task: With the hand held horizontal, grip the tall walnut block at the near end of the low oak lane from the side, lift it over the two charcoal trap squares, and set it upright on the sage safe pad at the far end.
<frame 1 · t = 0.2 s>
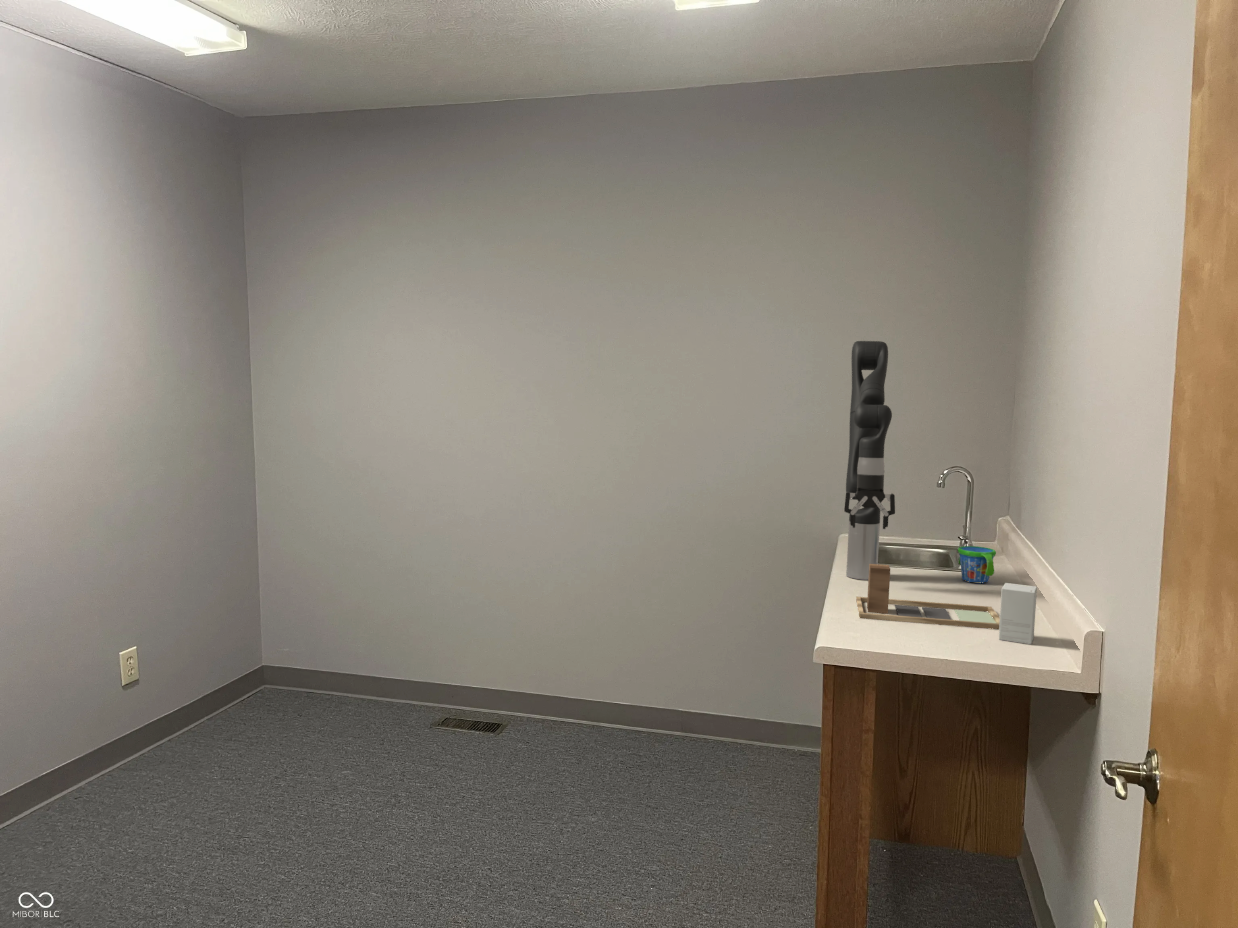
hand: (868, 528, 255), 18 cm above the table, tool pointing down, fingers open, 8 cm apart
walnut block: (877, 610, 231), resting in oak lane
oak lane: (926, 614, 228), on the table
snack cup: (974, 582, 268), on the table
supplement box: (1016, 639, 209), on the table
trap squares: (926, 614, 228), resting in oak lane
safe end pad: (975, 618, 226), resting in oak lane
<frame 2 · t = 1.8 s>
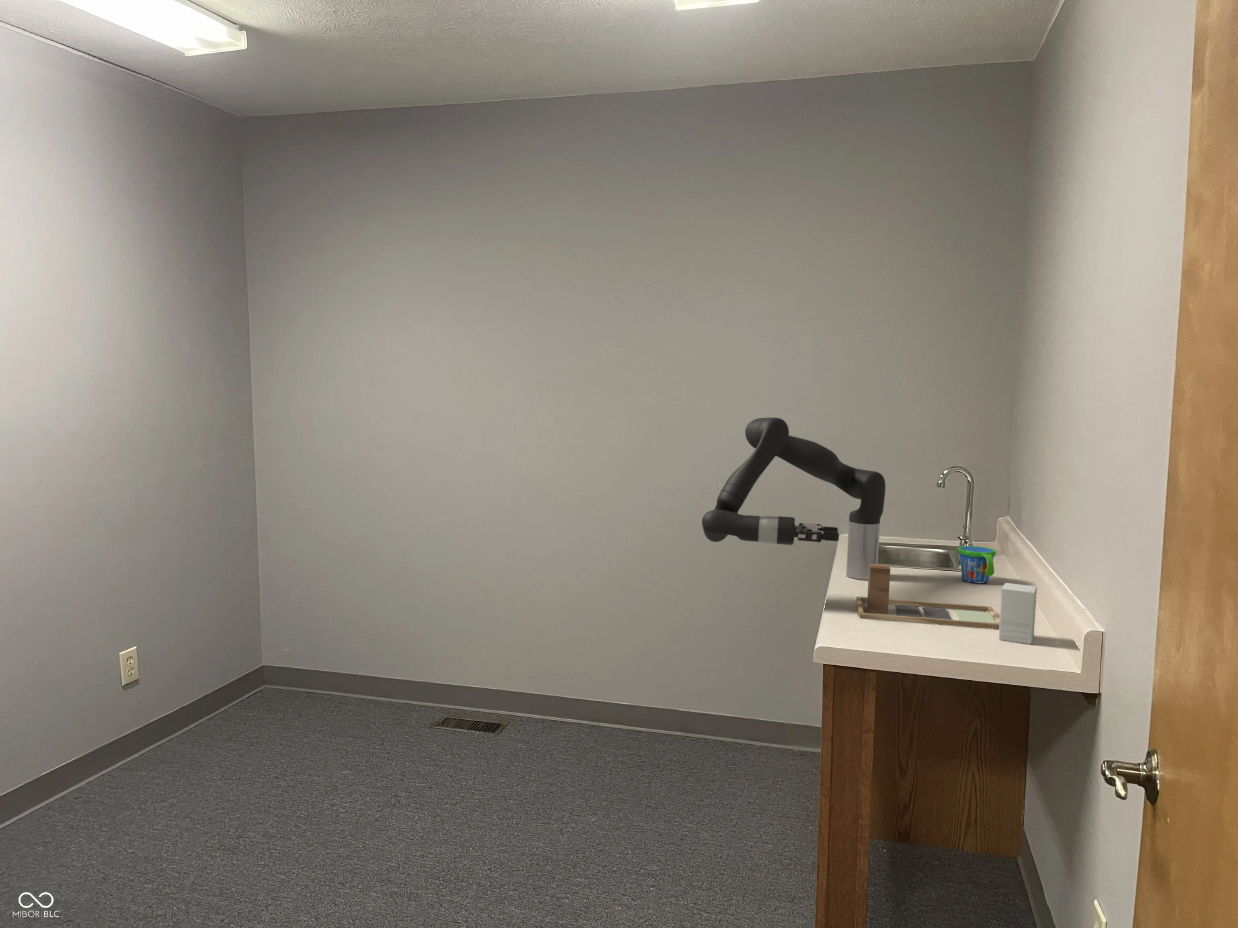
hand: (838, 534, 231), 20 cm above the table, tool horizontal, fingers open, 8 cm apart
nothing on the table moved.
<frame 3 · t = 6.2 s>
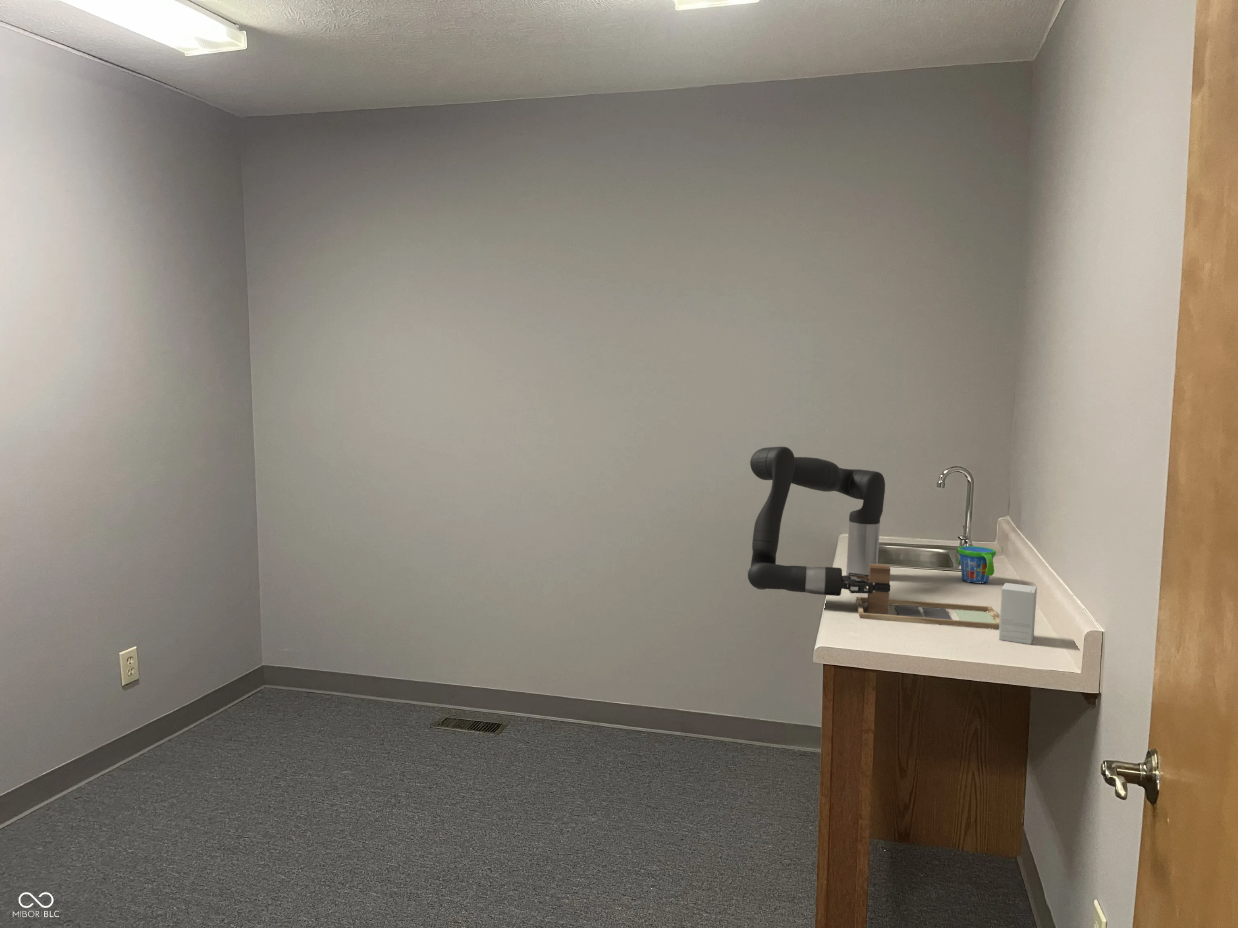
hand: (888, 585, 230), 7 cm above the table, tool horizontal, fingers closed on walnut block, 5 cm apart
walnut block: (877, 610, 231), resting in oak lane, touching gripper
everything else where it was.
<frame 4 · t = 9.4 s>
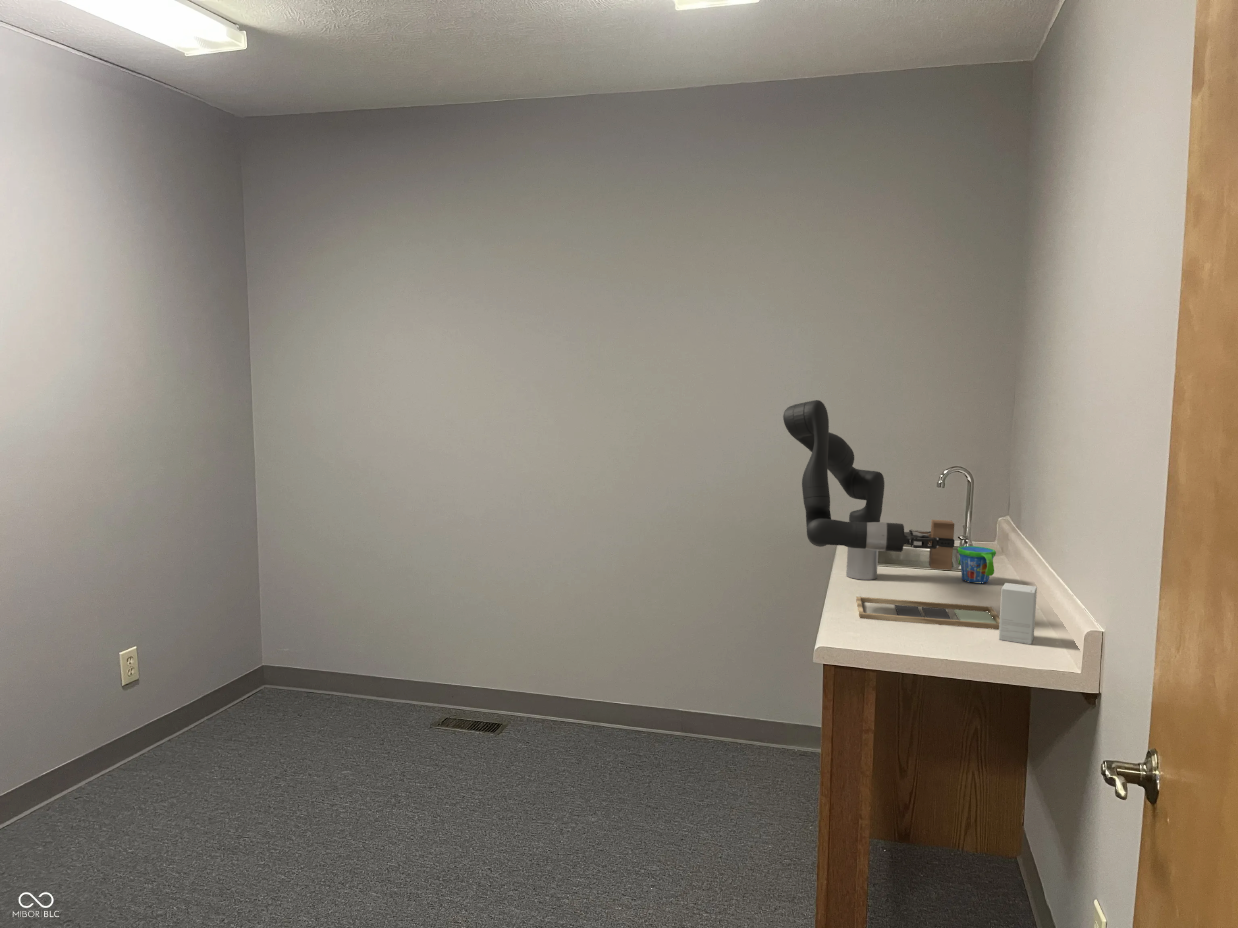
hand: (952, 541, 225), 20 cm above the table, tool horizontal, fingers closed on walnut block, 5 cm apart
walnut block: (939, 567, 226), point 13 cm above the table, touching gripper
everything else where it was.
when the fingers open (8 cm above the table, at t = 13.0 s): walnut block stays where it is, resting on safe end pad.
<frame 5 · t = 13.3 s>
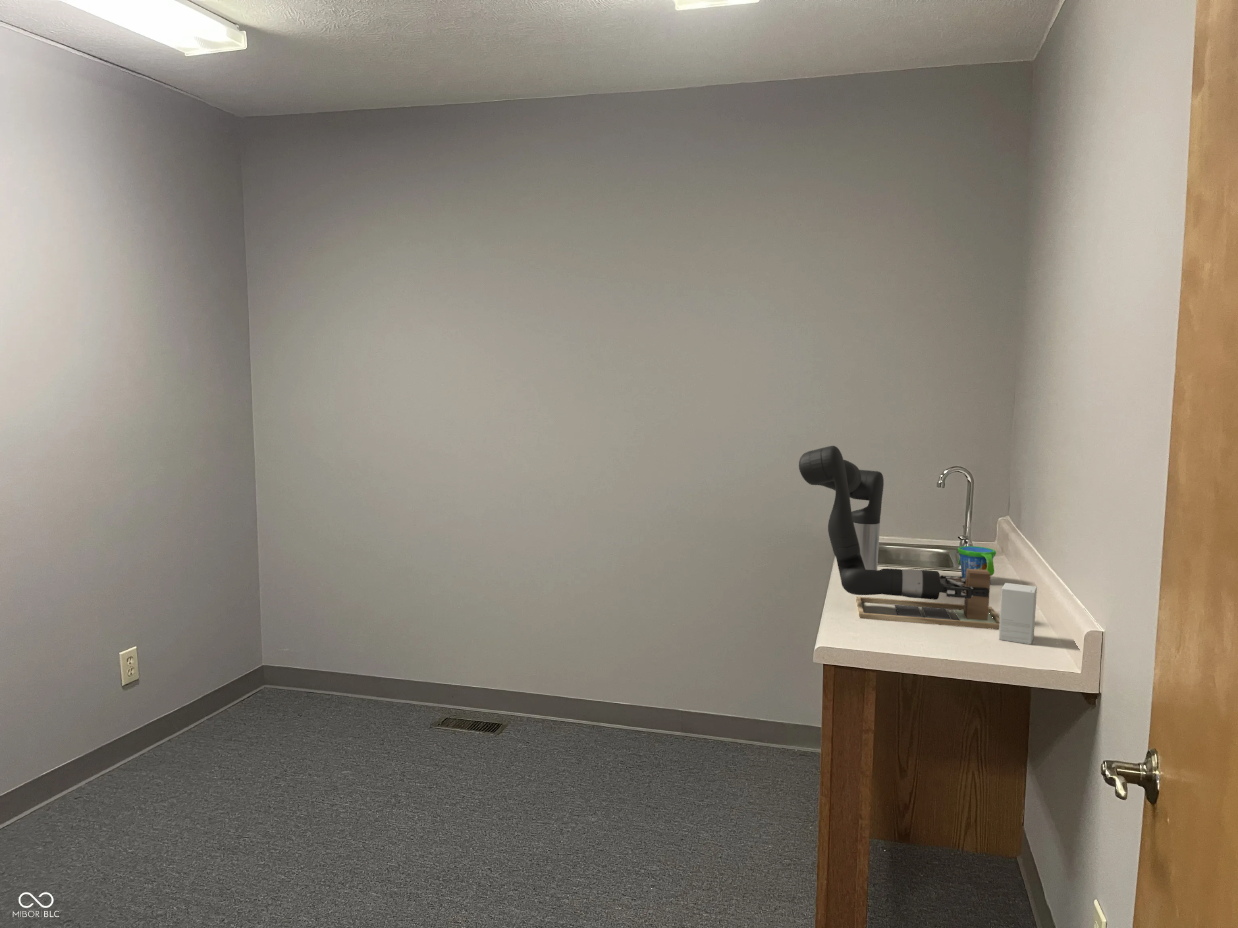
hand: (985, 588, 225), 8 cm above the table, tool horizontal, fingers open, 8 cm apart
walnut block: (975, 616, 226), resting on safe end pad
everything else where it was.
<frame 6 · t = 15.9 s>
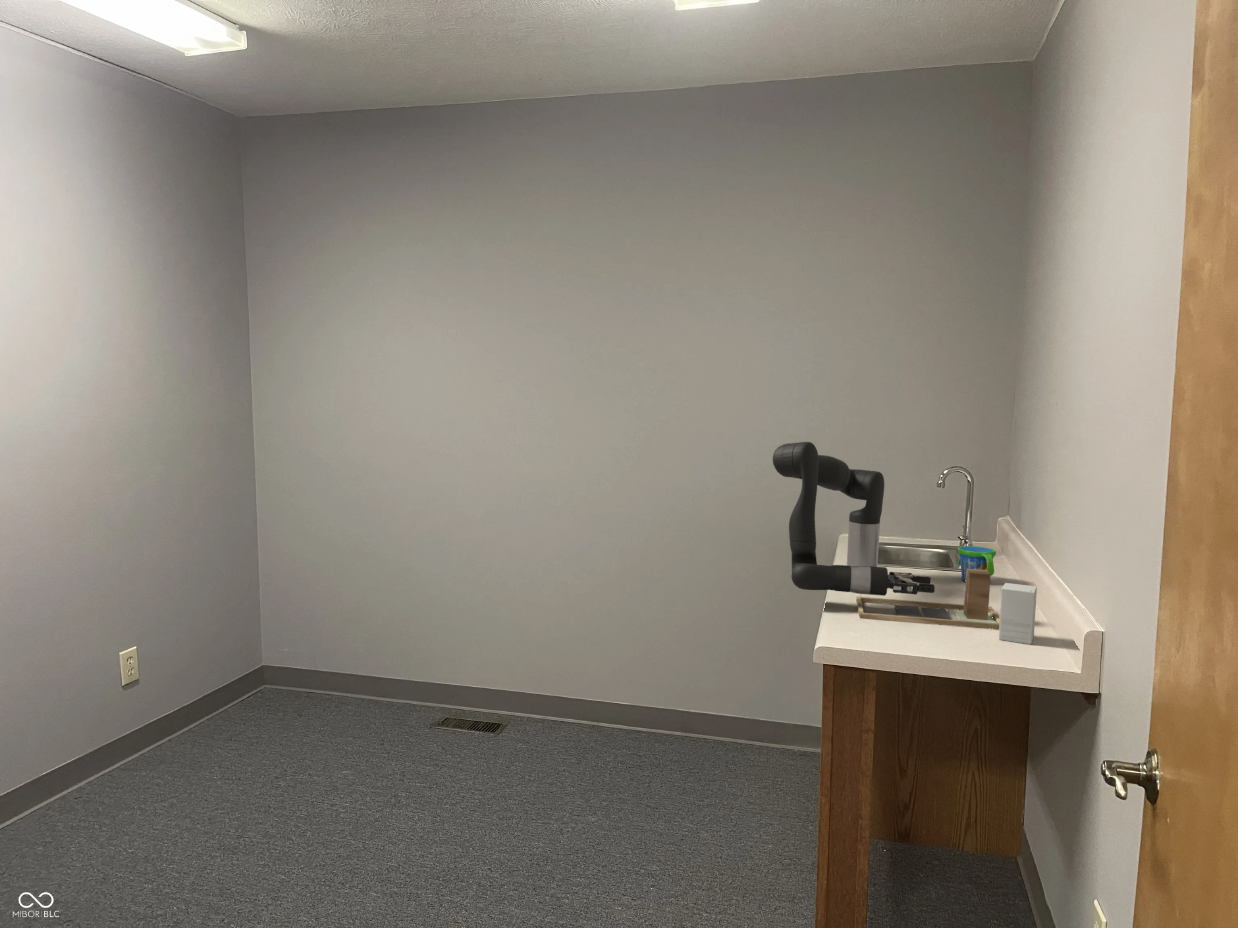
hand: (932, 584, 227), 8 cm above the table, tool horizontal, fingers open, 8 cm apart
nothing on the table moved.
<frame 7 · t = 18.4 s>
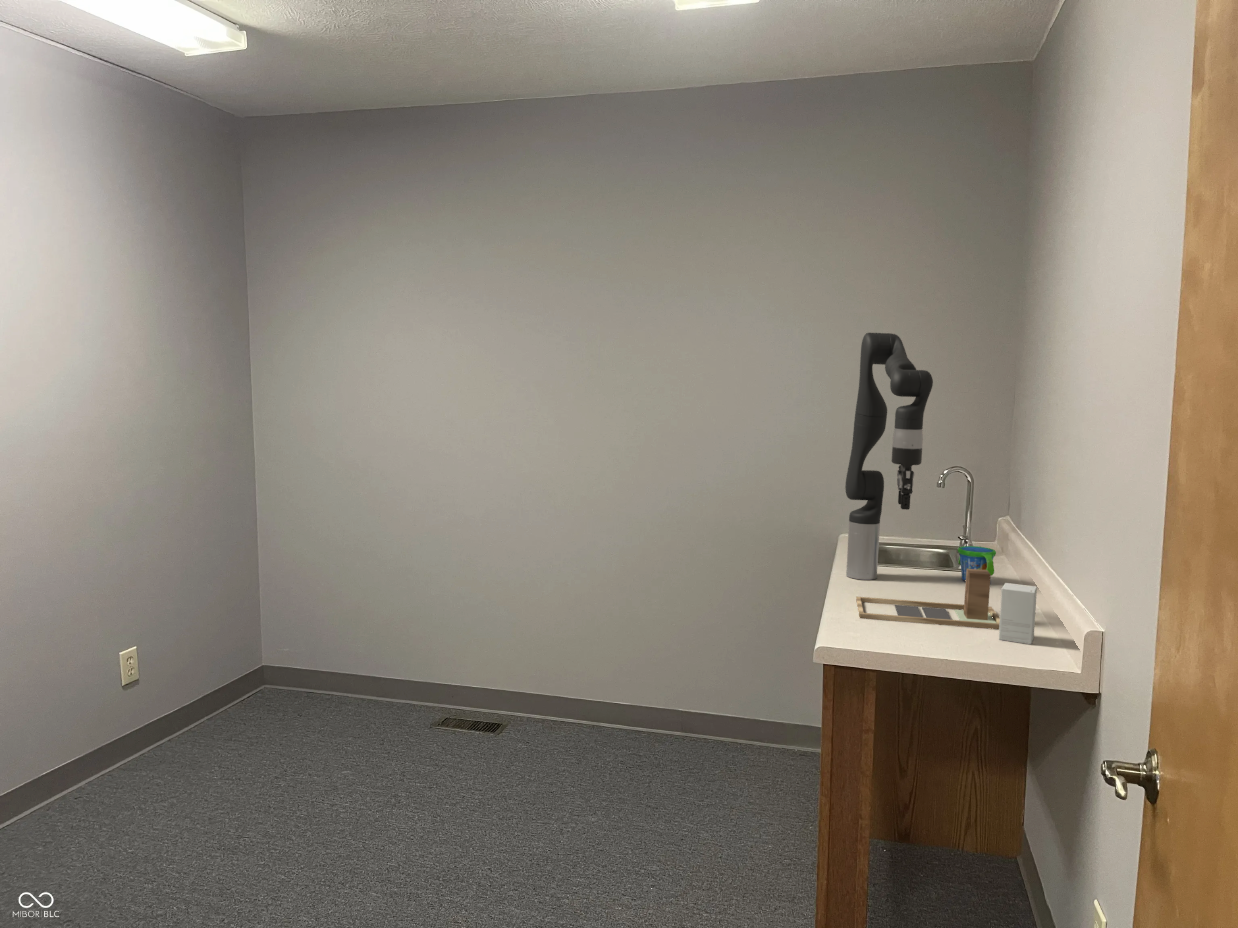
hand: (903, 506, 231), 28 cm above the table, tool pointing down, fingers open, 8 cm apart
nothing on the table moved.
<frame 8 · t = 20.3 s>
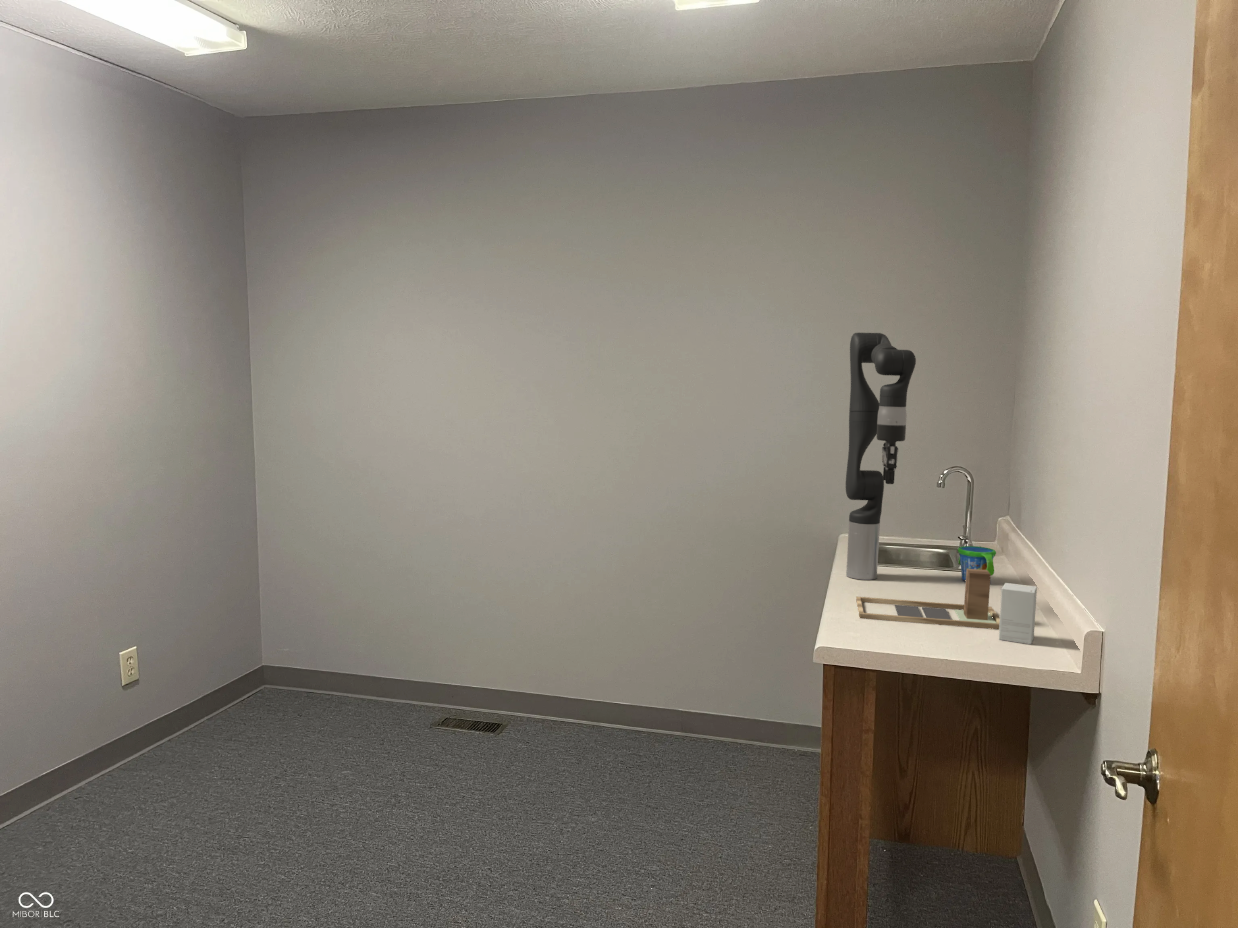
hand: (888, 482, 239), 33 cm above the table, tool pointing down, fingers open, 8 cm apart
nothing on the table moved.
at the end: walnut block inside the target area (0.0 cm from its centre), resting on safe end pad; walnut block tilted 0°; the gripper is holding nothing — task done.
